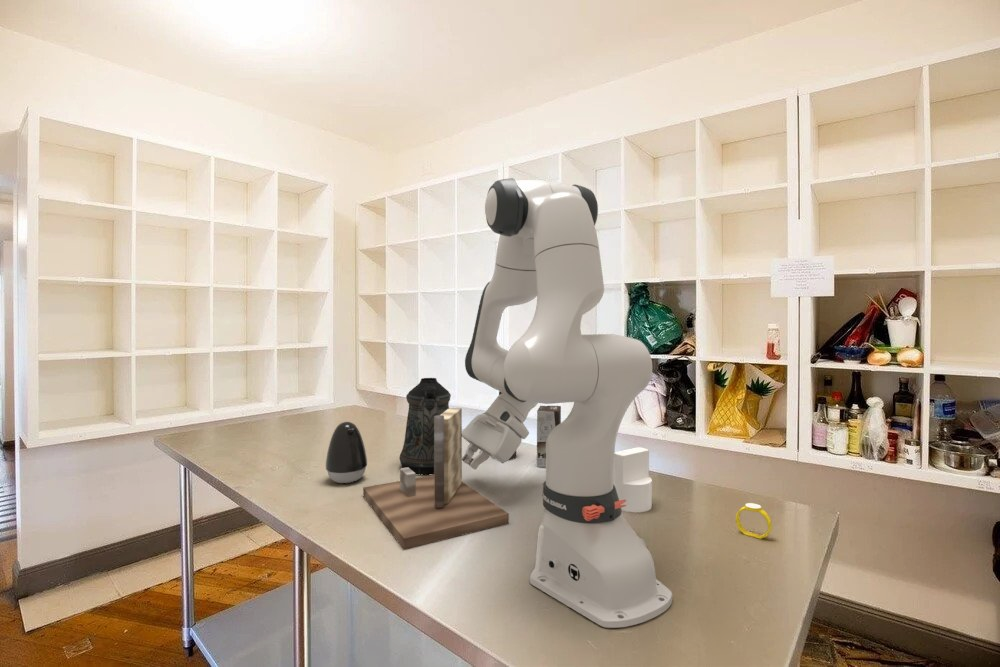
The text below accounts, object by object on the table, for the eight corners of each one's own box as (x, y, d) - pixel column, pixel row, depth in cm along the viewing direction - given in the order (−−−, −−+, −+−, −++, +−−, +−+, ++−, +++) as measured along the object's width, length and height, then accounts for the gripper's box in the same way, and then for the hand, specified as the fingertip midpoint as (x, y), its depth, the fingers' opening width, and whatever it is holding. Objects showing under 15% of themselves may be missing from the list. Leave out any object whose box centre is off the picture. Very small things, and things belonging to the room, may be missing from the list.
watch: (735, 535, 91) (733, 504, 92) (739, 530, 94) (737, 500, 94) (770, 542, 88) (767, 510, 88) (773, 537, 90) (771, 506, 90)
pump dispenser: (333, 490, 115) (332, 428, 114) (320, 478, 123) (320, 420, 123) (373, 481, 121) (373, 422, 120) (359, 471, 129) (358, 416, 129)
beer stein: (440, 454, 145) (439, 373, 145) (475, 470, 130) (475, 380, 129) (389, 464, 135) (389, 377, 134) (422, 483, 120) (421, 385, 119)
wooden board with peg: (508, 523, 96) (508, 489, 96) (404, 549, 85) (403, 511, 85) (449, 480, 122) (449, 453, 122) (363, 495, 111) (363, 466, 111)
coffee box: (559, 468, 132) (559, 411, 131) (536, 467, 133) (536, 410, 132) (561, 459, 140) (561, 405, 140) (539, 458, 142) (540, 404, 141)
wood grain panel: (445, 508, 98) (444, 417, 97) (431, 507, 98) (430, 416, 98) (461, 482, 113) (461, 404, 113) (449, 482, 114) (449, 403, 113)
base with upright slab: (632, 515, 100) (633, 459, 100) (601, 502, 107) (602, 449, 107) (660, 506, 105) (660, 453, 105) (628, 494, 112) (629, 444, 112)
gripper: (477, 402, 123) (443, 445, 119) (515, 418, 105) (476, 470, 101) (493, 417, 125) (460, 460, 122) (533, 435, 107) (495, 486, 103)
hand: (468, 464), depth 111 cm, fingers open, 2 cm apart
